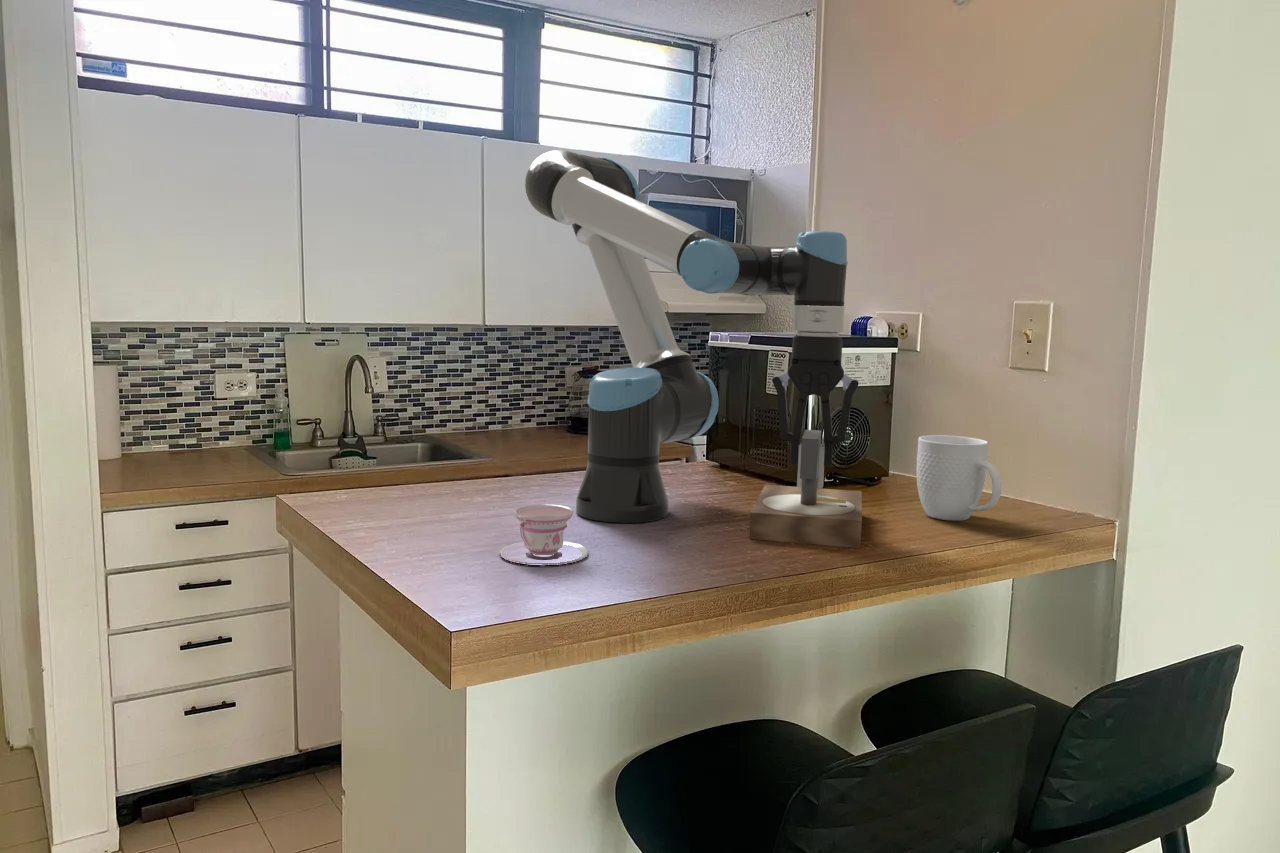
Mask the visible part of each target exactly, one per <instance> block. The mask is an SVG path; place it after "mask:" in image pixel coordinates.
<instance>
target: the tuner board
mask: <svg viewBox="0 0 1280 853" xmlns="http://www.w3.org/2000/svg"><path fill="white" fill-rule="evenodd" d="M862 493H863V492H862V491H861V490H850V489H849V490H848V489H847V490H846V489H831V488H818V487H817V497H819V498H833V499H846V503H833V502H819V501H816V504H815V505H805V504H801V503H800V502H801V487H797V486H792V485H791V486H790V485H787V486H786V485H777V484H776V485H775V484H764V486H763V488H762V490H761V491H760V494H759V496H758V497H757V499H756V501H755V503H754V504H753V506H752V507H751V510H750V511H749V530H748V531H749V532H748V535H749V536H748V539H749V540H757V541H758V540H759V541H771V542H773V541H774V542H783V543H784V542H785V543H795V544H807V545H808V544H809V545H820V546H822V545H823V546H830V547H831V546H832V547H845V548H856V549H857V548H858V549H861V545H862V544H861V542H862V527H863V526H862V524H863V501H862V500H863V498H862V497H863V496H862Z"/></svg>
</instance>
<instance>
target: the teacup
mask: <svg viewBox="0 0 1280 853" xmlns="http://www.w3.org/2000/svg"><path fill="white" fill-rule="evenodd" d="M573 512H574V509H573V508H571V507H570V506H567V505H562V504H554V503H553V504H550V503H545V504H543V503H542V504H531V505H525V506H522V507H519V508H516V509H514V511H513V514H514V516H515V518H516V519H517V520H518V521H519V522H520V524H519V525H520V527H519V531H520V536H521V539H522V541H519V542H515V543H511V544H508V545H506V546H504V547H502V548H501V549H502V550H503V549H504V548H507V547H509V546H510V545H516V544H520V543H524V547H525V548H526V549H528V550H529V551H530V552H529V553H530V554H531V553H532V554H535V555H553V554H555V555H557V553H558V552H557V551H558V550H559V549H560V548H562V547H563V545H567V546H568V545H569V546H573V547H575V548H577V549H579V550H580V551H581V552H582V553H583V554H582V556H581V557H579V558H578V559H575V560H572V561H567V562H560V563H527V562H520V561H515V560H512V559H508V558H507V557H505V556H503V555H502V552H501V551H502V550H501V549H500V550H499V554H500V553H501V555H502V556H503V557H504V558H506V559H508V560H512V561H515V562H519V563H525V564H542V565H548V564H549V565H557V564H558V565H559V564H565V563H572V562H575V563H577V562H576V561H579V560H582V559H583V558H585V557H587V558H588V556H587V555H589V549H587V547H585V546H583V545H581V544H579V543H575V542H570V541H564V531H565V529H567V527H568V524H567V523H568V522H569V520H570V519H571V518H572V517H573ZM585 559H586V558H585ZM583 560H584V559H583ZM583 560H582V561H583ZM579 562H580V561H579ZM572 564H573V563H572ZM559 566H560V565H559Z"/></svg>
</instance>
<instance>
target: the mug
mask: <svg viewBox="0 0 1280 853" xmlns="http://www.w3.org/2000/svg"><path fill="white" fill-rule="evenodd" d="M988 447H989V442H988V441H987V440H984V439H982V438H981V439H980V438H975V437H968V436H960V435H950V434H949V435H946V434H930V435H929V434H928V435H922V436H919V437H918V440H917V453H916V471H915V472H916V485H917V486H916V487H917V492H918V497H919V500H920V503H921V505H922V506H921V507H922V509H923V511H924V512H925V513H926V515H927V516H928V517H930V518H933V519H937V520H942V521H953V522H957V521H958V522H959V521H966V520H968V519H970V517H971V516H972V515H973V513H975V512H984V511H988V510H990V509H992V508H993V507H995V506H996V505H997V504H998V502H999V500H1000V497H1001V494H1002V479H1001V475H1000V472H999V469H998V468H997V467H996V466H995V464H993V463H992V462H990V461H988V454H989V452H988V450H989V448H988ZM987 472H988V474H989V475H990V479H991V484H992V491H991V496H990V499H989V500H988V502H987V503H986V504H982V505H978V504H980V500H981V498H982V494H983V490H984V489H985V488H984V487H985V482H986V478H987V477H986V476H987V475H986V474H987Z"/></svg>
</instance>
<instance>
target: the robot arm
mask: <svg viewBox="0 0 1280 853" xmlns="http://www.w3.org/2000/svg"><path fill="white" fill-rule="evenodd" d="M524 188H525V193H526V197H527V199H528V201H529V203H530V204H531V206H532V207H533V208H534V209H535V211H537V212H538V213H540V214H541V215H543V216H545V217H548V218H550V219H552V220H554V221H556V222H558V223H560V224H562V225H564V226H565V225H566V226H568V225H569V226H571V227H572V229H573V232H574V235H575V236H576V240H577V242H579V243H580V244H583V245H585V246H587V247H588V248H589V251H590V254H591V257H592V260H593V262H594V264H595V267H596V271H597V273H598V275H599V278H600V280H601V283H602V286H603V289H604V292H605V294H606V296H607V299H608V302H609V304H610V305H609V306H610V308H611V310H612V313H613V315H614V318H615V321H616V324H617V326H618V330H619V331H620V335H621V337H622V340H623V343H624V346H625V348H626V351H627V353H628V356H629V359H630V362H631V365H632V367H625V368H614V369H608V370H603V371H600V372H598V373H597V374H595V375H593V377H592V378H591V379H590V382H589V385H588V386H589V390H588V396H587V465H586V470H585V472H584V475H583V478H582V481H581V484H580V487H579V490H578V493H577V496H576V500H575V501H576V503H575V512H576V514H577V515H578V516H580V517H582V518H585V519H589V520H593V521H598V522H606V523H622V524H623V523H624V524H625V523H627V524H628V523H629V524H631V523H634V524H635V523H647V522H652V521H657V520H661V519H663V518H665V517H667V516H668V515H669V498H668V493H667V491H666V486H665V483H664V481H663V478H662V474H661V470H660V445H661V444H667V443H673V442H684V441H689V440H690V439H692V438H695V437H697V438H698V437H699V436H701V435H703V434H704V433H706V432H707V431H708V430H709V429H710V428H711V426H712V425H713V424H714V422H715V420H716V416H717V414H718V412H719V406H720V405H719V403H720V401H719V395H718V389H717V387H716V385H715V384H714V382H713V381H712V379H711V378H710V377H708V376H706V375H705V374H703V373H701V371H697V369H696V366H695V363H694V361H693V359H692V356H691V355H690V353H688V352H686V351H683V350H681V349H680V348H679V347H678V343H677V342H676V339H675V336H674V333H673V331H672V328H671V325H670V322H669V320H668V317H667V315H666V313H665V308H664V306H663V304H662V302H661V299H660V296H659V294H658V290H657V289H656V286H655V283H654V280H653V278H652V275H651V273H650V270H649V267H648V264H647V262H646V260H647V261H650V262H652V263H655V264H656V265H658V266H660V267H662V268H664V269H665V270H666V269H667V270H669V271H670V272H672V273H675V274H677V276H678V275H679V276H680V277H681V278H682V280H683V281H684V283H685V285H686V286H688V287H689V288H691V289H692V290H695V291H698V292H702V293H706V294H735V295H743V296H751V297H752V296H776V295H777V296H780V295H781V296H793V297H794V302H793V303H794V304H793V306H794V307H793V323H792V324H793V325H792V326H793V327H792V331H793V332H795V333H796V334H795V335H794V336H793V337H792V346H791V348H792V349H791V363H790V365H789V367H788V369H787V372H784V373H782V374H780V375H775V376H774V377H773V378H772V379H771V382H772V385H773V387H774V389H775V391H776V398H777V408H778V424H779V437H780V439H781V440H784V441H787V442H789V443H790V445H791V449H790V450H791V452H790V462H791V464H792V465H797V477H796V478H797V480H796V487H801V482H802V479H801V478H800V465H801V445H802V442H801V440H802V434H803V433H802V432H803V426H804V420H805V415H806V409H807V404H808V399H809V396H814V395H815V396H818V397H820V402H821V411H822V412H821V413H822V425H823V426H822V427H823V439H824V443H821V444H820V449H819V469H818V481H817V488H821V489H824V488H823V487H824V479H825V478H824V476H825V474H824V473H825V472H824V471H825V467H831V465H832V463H833V447H834V446H835V445H837V444H841V443H844V442H845V440H846V434H847V429H848V423H849V418H850V411H851V406H852V400H853V396H854V393H856V390H857V388H858V387H859V380H858V379H856V378H852V377H851V376H849V375H847V374H845V372H844V368H843V366H842V358H843V357H842V356H843V339H842V337H840V335H839V334H842V333H843V332H844V323H845V322H844V321H845V320H844V319H845V317H844V316H845V294H846V293H845V292H846V291H845V290H846V280H847V279H846V277H847V276H846V275H847V266H848V264H849V263H848V261H847V260H848V257H847V256H848V252H847V250H848V249H847V248H848V246H847V243H848V240H847V237H846V236H845V235H844V234H843V233H842V232H837V231H830V230H829V231H827V230H825V231H824V230H821V231H820V230H816V231H815V230H812V231H802V232H800V233H799V234H798V235H797V239H796V242H795V245H792V246H791V245H790V246H763V245H761V246H760V245H755V244H754V245H753V244H746V243H737V242H731V241H728V240H725V239H722V238H720V237H718V236H716V235H714V234H711V233H709V232H707V231H705V230H703V229H700V228H698V227H696V226H694V225H691V224H690V223H688V222H685V221H684V220H682V219H678V218H677V217H674V216H672V215H670V214H668V213H666V212H663V211H661V210H660V209H657V208H655V207H652V206H651V205H648V204H647V203H644V202H642V201H640V197H641V196H640V189H639V184H638V182H637V179H636V178H635V176H634V175H633V173H632V172H631V171H630V170H629V169H628V168H627V167H626V166H625V165H623V164H622V163H619V162H616V161H614V160H613V159H610V158H606V157H595V156H590V155H588V154H587V155H586V154H582V153H578V152H573V151H571V150H566V149H565V150H564V149H556V150H554V149H553V150H550V151H547V152H545V153H542V154H541V155H539V156H538V157H536V158H535V159H534V160H533V161H532V163H530V166H529V167H528V169H527V172H526V175H525V183H524ZM789 380H791V381H792V383H793V385H794V386H795V388H796V389H797V390H798V392H799V395H798V402H797V408H796V413H795V420H794V426H793V429H792V430H793V431H792V432H791V431H790V429H789V428H790V426H789V412H788V411H789V410H788V399H787V398H788V397H787V390H786V388H787V387H788V385H789ZM840 382H842V389H843V391H845V392H844V396H843V402H842V407H841V412H840V417H839V424H838V429H837V433H836V434H834V435H833V423H832V421H833V420H832V410H831V395H830V394H831V393H832V391H834V389H835V388H836V387H837V386H838V384H839V383H840Z"/></svg>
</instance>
